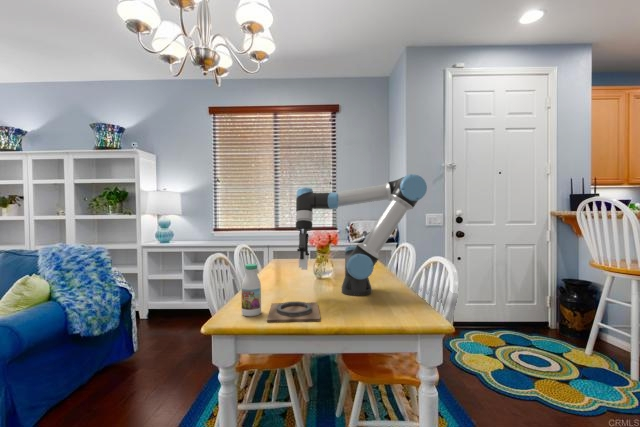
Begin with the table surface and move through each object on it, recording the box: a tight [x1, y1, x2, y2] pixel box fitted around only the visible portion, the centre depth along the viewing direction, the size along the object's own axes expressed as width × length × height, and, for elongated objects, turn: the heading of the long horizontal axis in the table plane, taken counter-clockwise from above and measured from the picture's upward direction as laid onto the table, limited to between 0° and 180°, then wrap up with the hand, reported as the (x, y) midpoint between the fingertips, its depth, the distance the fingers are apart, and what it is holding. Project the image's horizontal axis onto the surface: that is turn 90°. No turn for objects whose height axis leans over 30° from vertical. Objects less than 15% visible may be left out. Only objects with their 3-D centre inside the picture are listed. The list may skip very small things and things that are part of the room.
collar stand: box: [266, 300, 321, 323], centre depth 129 cm, size 20×20×2 cm
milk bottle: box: [241, 263, 262, 317], centre depth 128 cm, size 8×8×20 cm
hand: (303, 268), depth 139 cm, fingers open, 13 cm apart
